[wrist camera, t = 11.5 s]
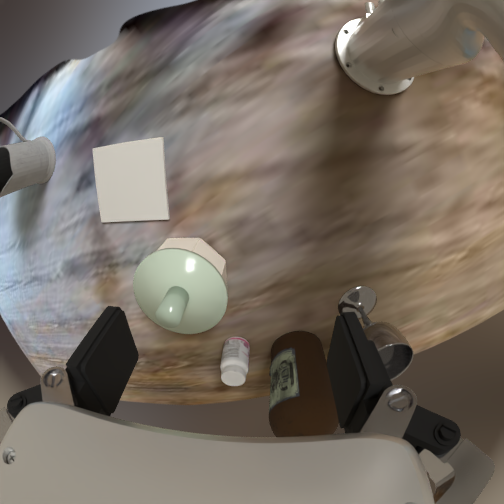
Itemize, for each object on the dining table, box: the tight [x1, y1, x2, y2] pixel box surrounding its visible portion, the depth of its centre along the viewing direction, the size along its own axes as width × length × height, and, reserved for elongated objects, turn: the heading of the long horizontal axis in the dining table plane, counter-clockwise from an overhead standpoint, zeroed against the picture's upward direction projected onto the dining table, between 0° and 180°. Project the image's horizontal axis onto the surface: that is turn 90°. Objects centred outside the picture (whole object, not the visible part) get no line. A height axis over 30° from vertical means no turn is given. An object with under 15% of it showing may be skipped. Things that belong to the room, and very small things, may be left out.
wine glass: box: [338, 286, 413, 380], centre depth 37 cm, size 8×8×15 cm
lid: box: [133, 248, 228, 334], centre depth 34 cm, size 14×14×6 cm
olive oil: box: [269, 331, 339, 437], centre depth 37 cm, size 11×11×25 cm
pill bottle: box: [220, 337, 250, 386], centre depth 44 cm, size 5×5×8 cm
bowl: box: [157, 237, 227, 287], centre depth 39 cm, size 12×12×6 cm
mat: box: [93, 137, 170, 222], centre depth 36 cm, size 12×12×1 cm
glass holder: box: [0, 117, 56, 197], centre depth 27 cm, size 9×14×15 cm, turn 13°
